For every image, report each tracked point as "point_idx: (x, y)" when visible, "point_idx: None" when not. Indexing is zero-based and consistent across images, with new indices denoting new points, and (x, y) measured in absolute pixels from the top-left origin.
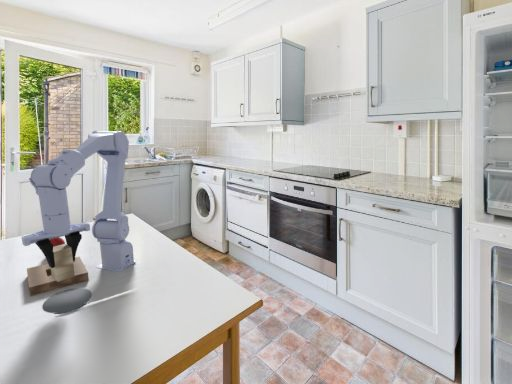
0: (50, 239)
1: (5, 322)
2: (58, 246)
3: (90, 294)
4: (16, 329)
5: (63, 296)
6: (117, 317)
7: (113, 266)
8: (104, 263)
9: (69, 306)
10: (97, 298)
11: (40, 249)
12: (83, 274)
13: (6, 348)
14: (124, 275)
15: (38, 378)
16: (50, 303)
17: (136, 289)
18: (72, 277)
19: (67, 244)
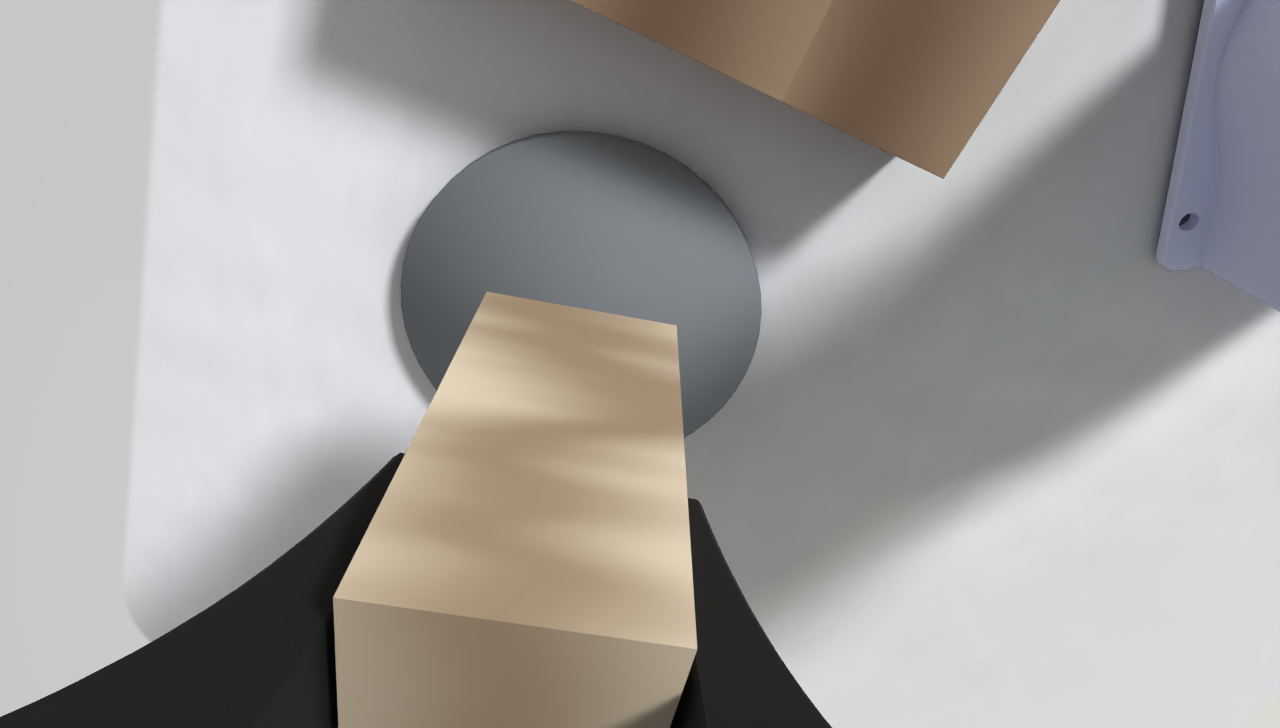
0: None
1: (156, 174)
2: (525, 672)
3: (714, 403)
4: (209, 332)
5: (586, 244)
6: None
7: (1237, 174)
8: (1270, 60)
9: None
10: (718, 450)
11: (151, 648)
12: (897, 154)
13: (141, 455)
14: (1109, 342)
15: None
16: (468, 255)
17: (920, 565)
18: (795, 104)
19: (691, 707)
